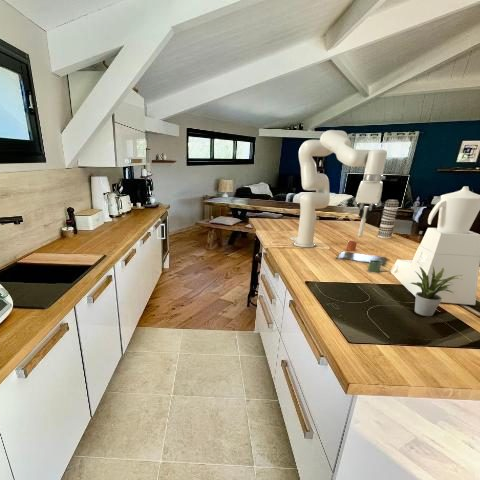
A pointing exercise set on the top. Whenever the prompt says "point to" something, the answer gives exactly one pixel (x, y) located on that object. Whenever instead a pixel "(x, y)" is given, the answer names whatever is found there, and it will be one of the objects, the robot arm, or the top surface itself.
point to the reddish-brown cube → (351, 245)
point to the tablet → (360, 257)
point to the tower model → (388, 218)
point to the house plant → (430, 292)
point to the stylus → (363, 221)
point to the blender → (448, 250)
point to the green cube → (374, 266)
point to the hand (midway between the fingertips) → (363, 217)
